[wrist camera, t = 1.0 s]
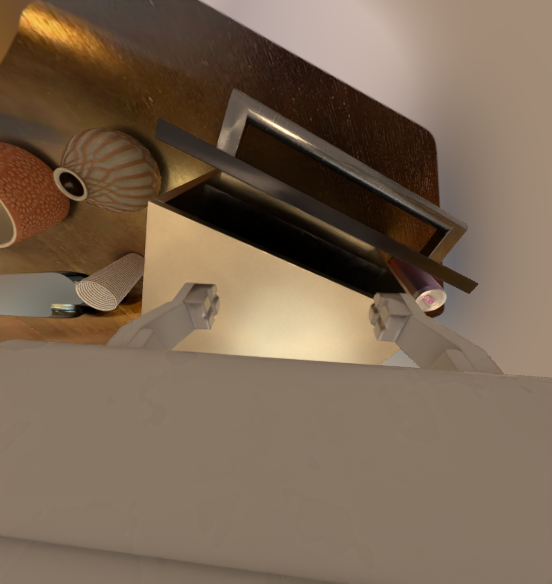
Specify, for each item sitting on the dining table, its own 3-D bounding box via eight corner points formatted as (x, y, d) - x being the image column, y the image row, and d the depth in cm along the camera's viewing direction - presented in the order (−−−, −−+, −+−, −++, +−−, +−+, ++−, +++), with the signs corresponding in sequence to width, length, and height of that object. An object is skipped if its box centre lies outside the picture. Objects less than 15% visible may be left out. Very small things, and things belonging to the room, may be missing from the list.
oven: (218, 167, 43) (147, 200, 22) (376, 246, 51) (433, 325, 30) (190, 282, 61) (138, 358, 41) (310, 327, 69) (317, 409, 49)
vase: (126, 110, 38) (31, 97, 24) (185, 174, 44) (135, 194, 30) (96, 161, 44) (4, 175, 30) (151, 213, 49) (96, 244, 36)
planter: (98, 200, 49) (34, 223, 37) (59, 232, 54) (-7, 261, 42) (17, 117, 40) (-102, 110, 28) (-19, 165, 46) (-131, 177, 34)
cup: (139, 244, 55) (94, 277, 43) (159, 271, 60) (124, 307, 47) (114, 252, 57) (65, 285, 45) (135, 277, 62) (96, 314, 49)
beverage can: (401, 248, 50) (435, 283, 39) (418, 260, 52) (454, 298, 40) (382, 265, 54) (407, 303, 42) (398, 276, 55) (426, 316, 44)
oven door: (229, 126, 40) (171, 37, 16) (397, 218, 48) (516, 244, 24) (218, 166, 42) (155, 137, 19) (378, 246, 50) (469, 294, 27)
